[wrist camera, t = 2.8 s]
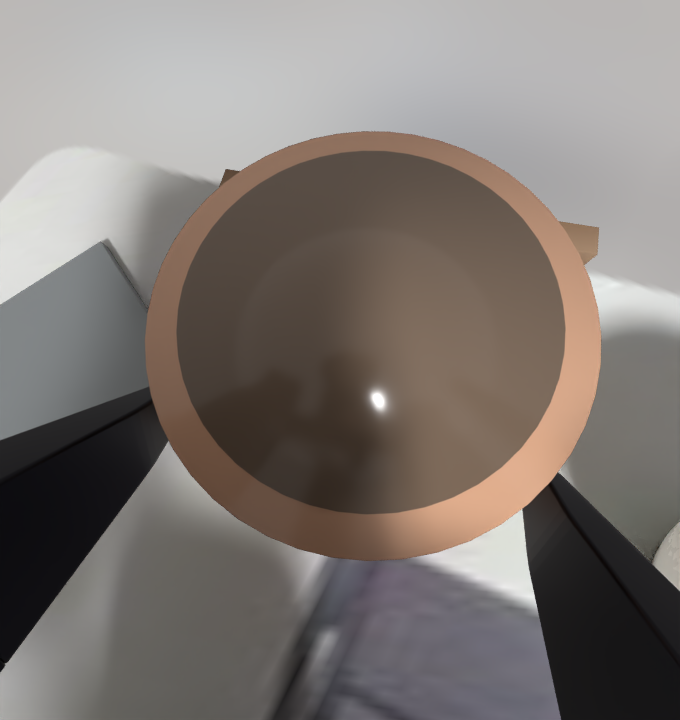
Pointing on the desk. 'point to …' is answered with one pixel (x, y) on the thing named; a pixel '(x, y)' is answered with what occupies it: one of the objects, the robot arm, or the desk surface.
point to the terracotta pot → (373, 346)
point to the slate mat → (70, 342)
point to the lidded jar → (669, 556)
